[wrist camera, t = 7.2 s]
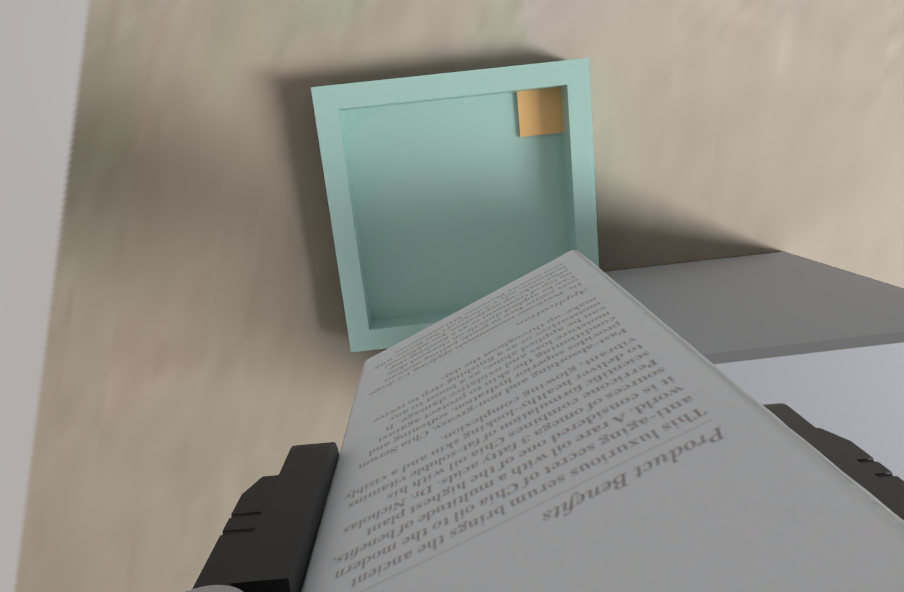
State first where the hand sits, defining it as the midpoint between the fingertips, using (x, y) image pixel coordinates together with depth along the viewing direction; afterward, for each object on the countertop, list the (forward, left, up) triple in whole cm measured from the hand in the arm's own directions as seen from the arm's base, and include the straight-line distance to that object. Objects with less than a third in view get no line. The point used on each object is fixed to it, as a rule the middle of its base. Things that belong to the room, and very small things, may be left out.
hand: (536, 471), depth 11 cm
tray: (0, +3, -21) cm, 21 cm away
